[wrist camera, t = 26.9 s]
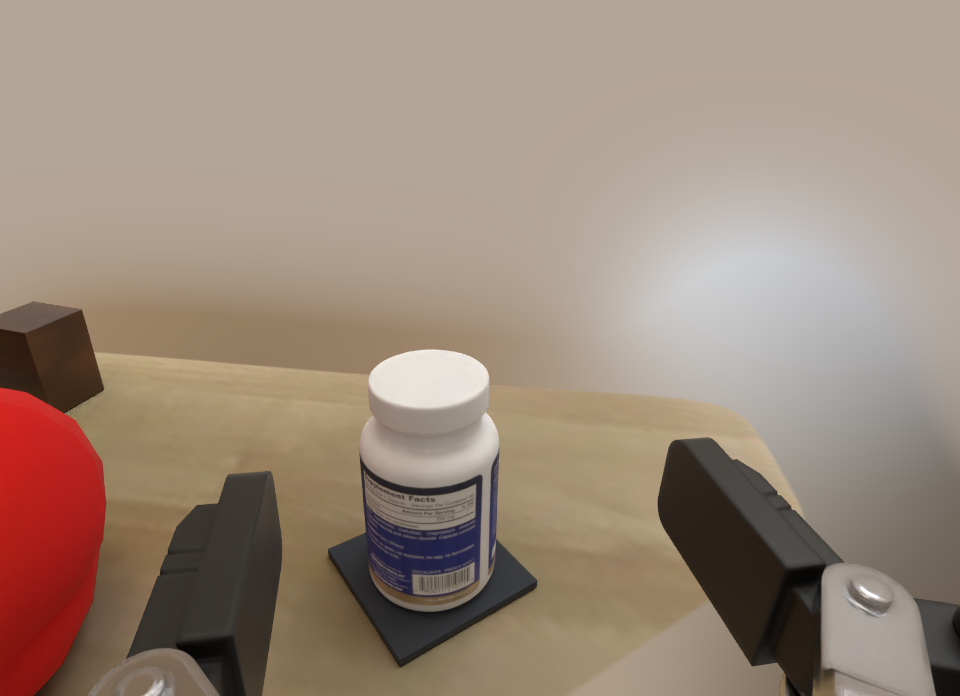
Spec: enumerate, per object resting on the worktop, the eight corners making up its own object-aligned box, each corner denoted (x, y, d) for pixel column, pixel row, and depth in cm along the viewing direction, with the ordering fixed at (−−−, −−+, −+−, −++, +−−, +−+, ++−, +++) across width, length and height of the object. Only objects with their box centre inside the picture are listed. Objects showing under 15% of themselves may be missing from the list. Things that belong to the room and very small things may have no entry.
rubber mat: (400, 667, 23) (399, 660, 23) (328, 555, 28) (327, 548, 28) (537, 586, 27) (537, 580, 27) (452, 500, 32) (452, 494, 32)
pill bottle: (417, 507, 31) (413, 331, 27) (515, 550, 28) (529, 364, 24) (341, 582, 26) (322, 385, 22) (450, 641, 24) (453, 431, 20)
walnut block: (53, 419, 38) (24, 333, 35) (4, 408, 39) (-28, 324, 36) (104, 389, 41) (82, 309, 39) (58, 380, 42) (33, 301, 40)
